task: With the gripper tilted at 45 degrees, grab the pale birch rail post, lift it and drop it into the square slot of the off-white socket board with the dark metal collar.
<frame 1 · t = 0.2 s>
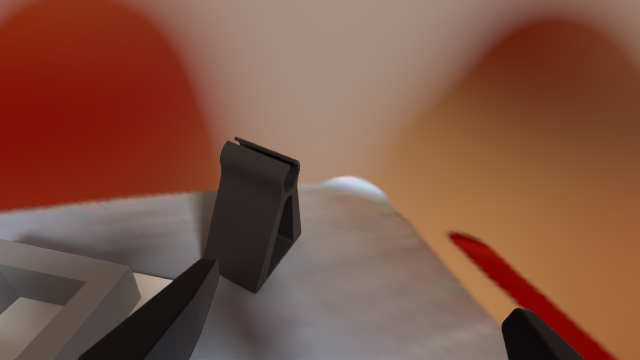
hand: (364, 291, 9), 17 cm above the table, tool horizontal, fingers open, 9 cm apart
phone stand: (256, 250, 30), on the table
post socket: (26, 356, 19), on the table
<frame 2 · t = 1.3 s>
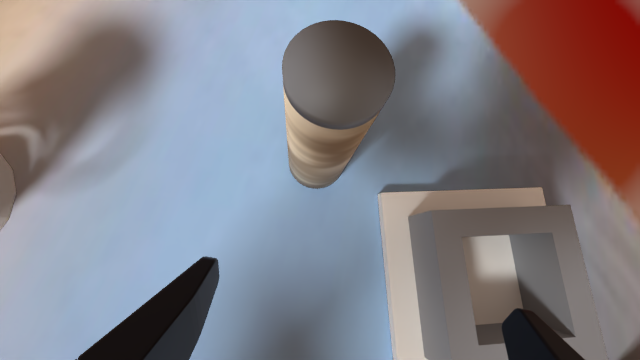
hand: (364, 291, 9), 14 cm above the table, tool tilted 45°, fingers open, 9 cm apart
rail post: (316, 161, 24), on the table
post socket: (470, 277, 23), on the table
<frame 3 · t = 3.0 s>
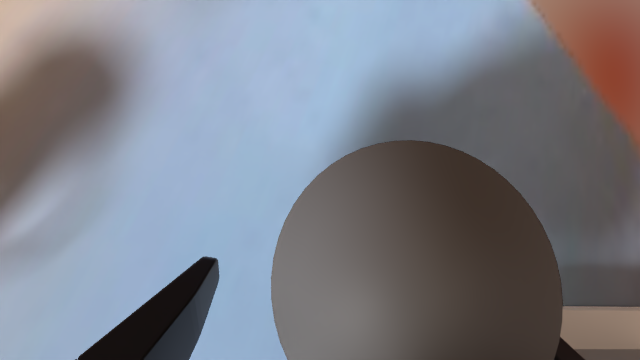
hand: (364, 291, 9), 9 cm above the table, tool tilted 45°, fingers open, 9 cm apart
rail post: (335, 250, 17), on the table
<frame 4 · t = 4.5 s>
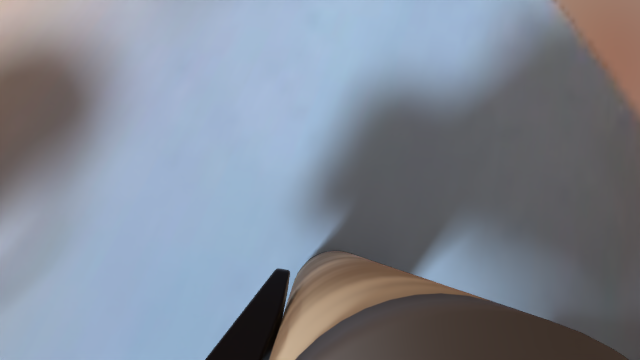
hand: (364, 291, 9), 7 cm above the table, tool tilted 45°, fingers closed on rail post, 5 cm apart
rail post: (335, 296, 15), on the table, touching gripper
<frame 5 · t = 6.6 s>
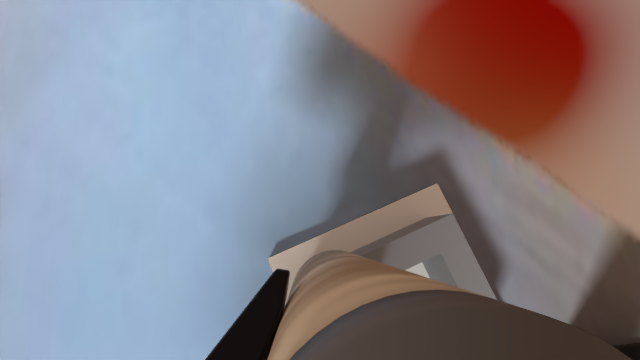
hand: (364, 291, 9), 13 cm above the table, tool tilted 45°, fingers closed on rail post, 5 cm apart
rail post: (335, 295, 15), point 7 cm above the table, touching gripper
post socket: (392, 307, 21), on the table
when the fingers open (8 cm above the table, at t = 8.7 s): rail post stays where it is, resting on post socket.
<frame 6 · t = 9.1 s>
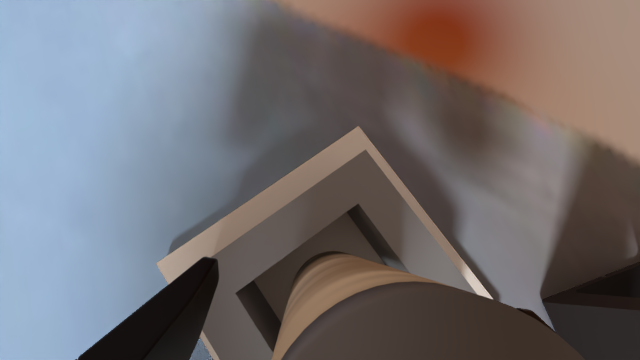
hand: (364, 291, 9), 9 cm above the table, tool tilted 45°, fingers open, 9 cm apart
rail post: (333, 294, 16), point 1 cm above the table, touching post socket
phone stand: (623, 324, 17), on the table
post socket: (332, 289, 17), on the table
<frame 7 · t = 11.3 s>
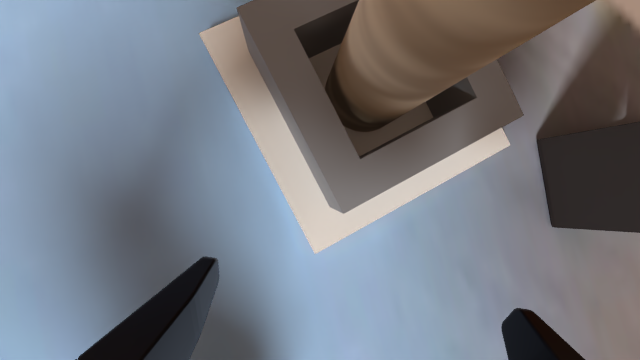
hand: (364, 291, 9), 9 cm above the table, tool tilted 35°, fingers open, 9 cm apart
rail post: (363, 93, 17), point 1 cm above the table, touching post socket
phone stand: (595, 172, 20), on the table
post socket: (360, 97, 18), on the table
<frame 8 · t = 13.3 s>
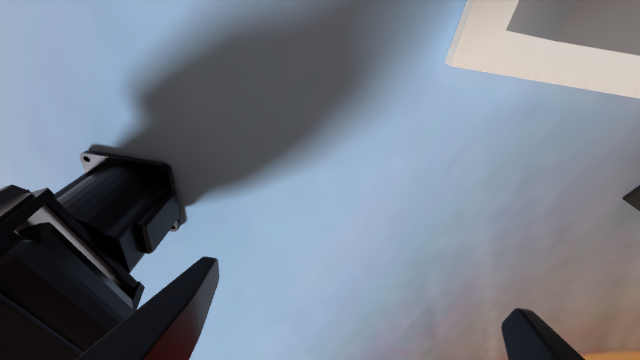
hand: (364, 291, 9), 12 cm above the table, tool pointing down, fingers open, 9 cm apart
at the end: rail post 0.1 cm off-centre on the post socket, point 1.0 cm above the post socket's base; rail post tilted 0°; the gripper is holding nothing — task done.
